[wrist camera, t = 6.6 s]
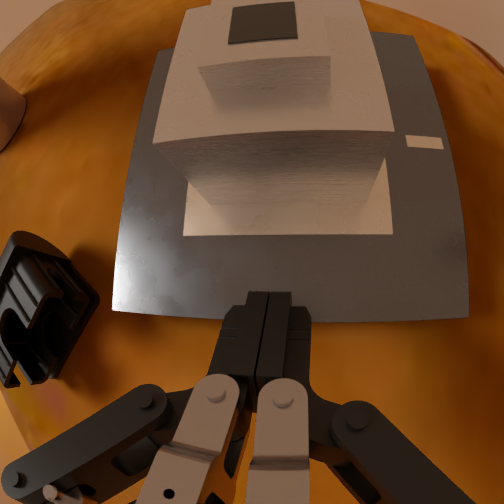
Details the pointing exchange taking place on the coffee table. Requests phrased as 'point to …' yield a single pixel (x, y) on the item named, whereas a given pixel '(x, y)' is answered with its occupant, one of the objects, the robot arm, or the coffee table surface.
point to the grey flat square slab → (304, 225)
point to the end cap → (39, 309)
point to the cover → (275, 103)
